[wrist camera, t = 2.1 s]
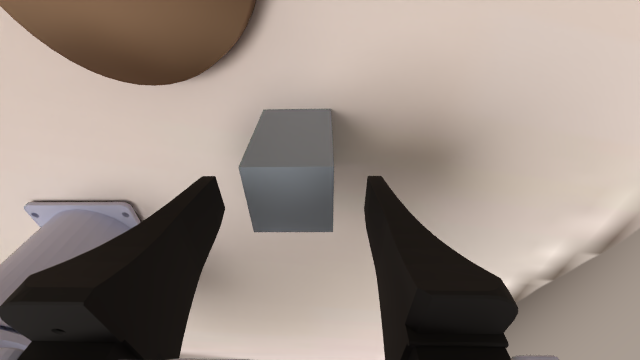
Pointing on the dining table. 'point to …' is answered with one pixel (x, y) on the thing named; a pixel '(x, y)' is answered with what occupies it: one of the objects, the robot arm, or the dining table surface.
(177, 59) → the disc
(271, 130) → the block
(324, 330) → the dining table surface
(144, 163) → the dining table surface
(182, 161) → the dining table surface
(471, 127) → the dining table surface
